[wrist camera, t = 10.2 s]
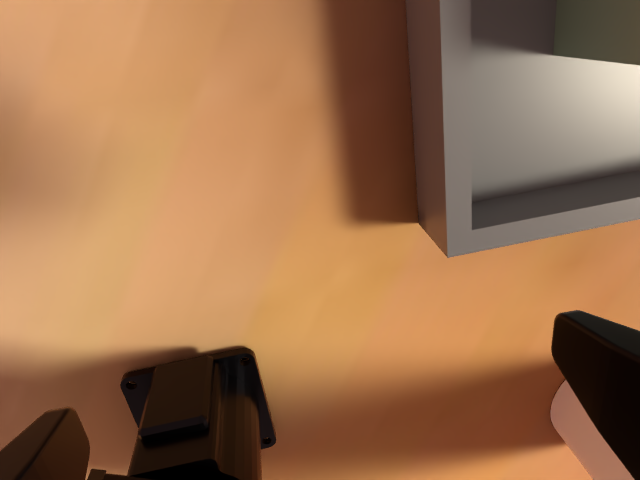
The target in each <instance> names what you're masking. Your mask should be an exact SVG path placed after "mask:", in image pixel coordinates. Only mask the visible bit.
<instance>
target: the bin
mask: <svg viewBox="0 0 640 480" xmlns="http://www.w3.org/2000/svg"><path fill="white" fill-rule="evenodd" d="M405 1H406V18H407V35H408V51H409V68H410V85H411V102H412V119H413V136H414V153H415V170H416V187H417V203H418V220H419V224H420V226H421V227H422V228H423V229H424V230H425V232H426V233H427V234H428V235H429V236H430V237H431V239H432V240H433V241H434V242H435V243H436V245H437V246H438V247H439V248H440V249H441V250H442V252H443V253H444V254H445V255H446V256H447V258H449V257H454V256H459V255H464V254H469V253H474V252H479V251H484V250H489V249H494V248H499V247H504V246H509V245H513V244H518V243H523V242H528V241H533V240H538V239H543V238H548V237H553V236H558V235H563V234H568V233H573V232H578V231H583V230H588V229H593V228H598V227H603V226H608V225H613V224H618V223H623V222H628V221H633V220H638V219H640V66H639V65H631V64H622V63H614V62H605V61H597V60H588V59H579V58H571V57H562V56H554V55H553V49H554V34H555V20H556V6H557V0H405Z"/></svg>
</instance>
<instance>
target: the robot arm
mask: <svg viewBox="0 0 640 480" xmlns="http://www.w3.org/2000/svg"><path fill="white" fill-rule="evenodd" d="M551 350H552V356H553V358H554V361H555V363H556V364H557V366H558V367H559V369H560V371H561V372H562V374H563V376H564V377H565V379H566V381H567V382H568V384H569V385H570V387H571V389H572V390H573V392H574V394H575V395H576V397H577V398H578V400H579V402H580V403H581V405H582V407H583V408H584V410H585V412H586V413H587V415H588V416H589V418H590V420H591V421H592V423H593V424H594V426H595V427H596V429H597V430H598V432H599V433H600V434H601V436H602V437H603V439H604V440H605V441H606V443H607V444H608V445H609V447H610V448H611V449H612V451H613V452H614V453H615V455H616V456H617V457H618V459H619V460H620V461H621V462H622V464H623V465H624V466H625V468H626V469H627V470H628V472H629V473H630V474H631V476H632V477H633V478H634V480H640V331H638V330H635V329H632V328H629V327H627V326H624V325H621V324H618V323H615V322H612V321H609V320H606V319H603V318H600V317H598V316H595V315H592V314H589V313H586V312H583V311H580V310H574V311H569V312H564V313H560V314H558V315H557V316H556V317H555V320H554V328H553V337H552V346H551ZM244 357H247V358H249V359H248V360H241V358H244ZM129 381H133V382H135V384H131V383H129ZM120 386H121V389H122V391H123V394H124V396H125V398H126V401H127V403H128V405H129V408H130V410H131V412H132V414H133V417H134V419H135V421H136V424H137V426H138V428H139V429H138V436H137V439H136V443H135V447H134V451H133V455H132V459H131V462H130V466H129V470H128V474H127V476H124V475H115V474H107V473H106V471H105V470H97V469H91V471H90V474H89V477H88V479H87V480H262V470H261V449H264V448H269V447H271V446H273V445H274V444H275V442H276V433H275V429H274V425H273V422H272V418H271V414H270V410H269V406H268V402H267V399H266V395H265V391H264V387H263V383H262V379H261V376H260V372H259V368H258V364H257V360H256V356H255V353H254V352H253V351H252V350H251V349H248V348H242V349H237V350H233V351H228V352H223V353H218V354H213V355H208V356H202V357H197V358H192V359H187V360H182V361H178V362H173V363H168V364H163V365H159V366H156V367H151V368H146V369H141V370H136V371H131V372H128V373H126V374H125V375H124V376H123V378H122V381H121V384H120ZM265 438H267V439H265ZM89 454H90V446H89V440H88V438H87V435H86V433H85V431H84V429H83V426H82V424H81V422H80V419H79V417H78V415H77V413H76V411H75V410H74V409H73V408H71V407H65V408H59V409H54V410H50V411H47V412H45V413H44V414H43V415H41V416H40V417H39V418H38V419H37V420H36V421H34V422H33V423H32V424H31V425H30V426H29V427H27V428H26V429H25V430H24V431H23V432H22V433H20V434H19V435H18V436H17V437H16V438H15V439H14V440H12V441H11V442H10V443H9V444H8V445H7V446H5V447H4V448H3V449H2V450H1V451H0V480H85V478H86V472H87V466H88V460H89Z"/></svg>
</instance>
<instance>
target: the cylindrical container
mask: <svg viewBox="0 0 640 480" xmlns="http://www.w3.org/2000/svg"><path fill="white" fill-rule="evenodd" d="M550 415H551V421H552V424H553V426H554V428H555V429H556V431H557V432H558V433H559V435H560V436H561V437H562V439H563V440H564V441H565V443H566V444H567V445H568V447H569V448H570V449H571V451H572V452H573V453H574V455H575V456H576V457H577V459H578V460H579V461H580V462H581V464H582V465H583V466H584V468H585V469H586V470H587V472H588V473H589V474H590V476H591V477H592V478H593V480H634V478H633V477H632V476H631V474H630V473H629V472H628V470H627V469H626V468H625V466H624V465H623V464H622V462H621V461H620V460H619V459H618V457H617V456H616V455H615V453H614V452H613V451H612V449H611V448H610V447H609V445H608V444H607V443H606V441H605V440H604V439H603V437H602V436H601V434H600V433H599V432H598V430H597V429H596V427H595V426H594V424H593V423H592V421H591V420H590V418H589V416H588V415H587V413H586V412H585V410H584V408H583V407H582V405H581V403H580V402H579V400H578V398H577V397H576V395H575V394H574V392H573V390H572V389H571V387H570V385H569V384H568V382H567V381H566V380H565V381H564V382H563V383H562V385H561V386H560V388H559V389H558V391H557V392H556V394H555V396H554V399H553V401H552V405H551V410H550Z"/></svg>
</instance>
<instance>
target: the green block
mask: <svg viewBox="0 0 640 480" xmlns="http://www.w3.org/2000/svg"><path fill="white" fill-rule="evenodd" d="M553 55H554V56H562V57H571V58H579V59H588V60H597V61H605V62H614V63H622V64H631V65H639V66H640V0H557V6H556V20H555V34H554V49H553Z"/></svg>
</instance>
